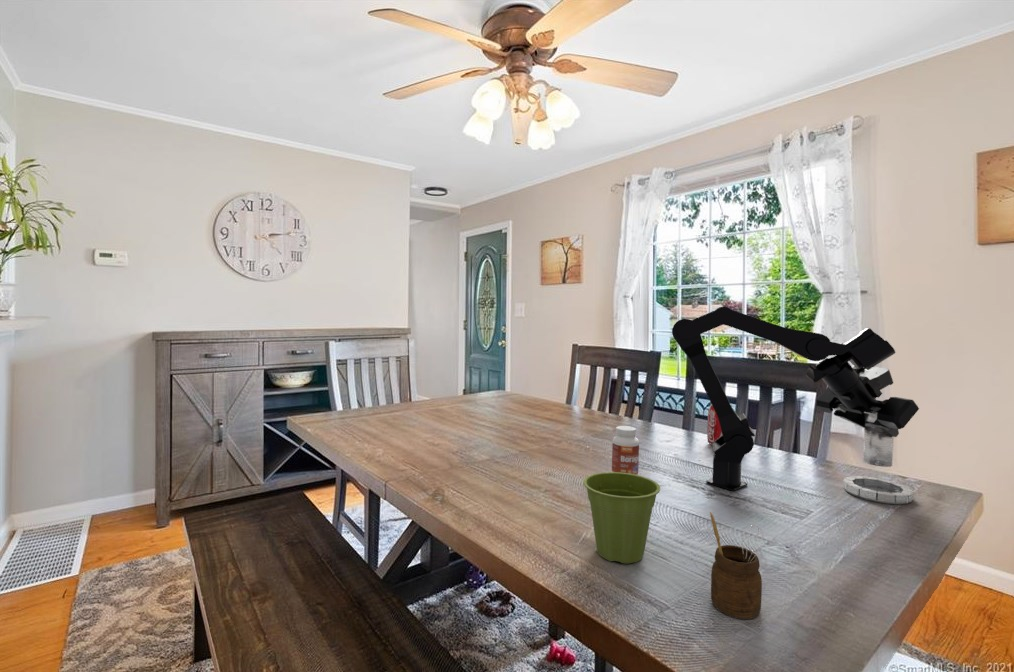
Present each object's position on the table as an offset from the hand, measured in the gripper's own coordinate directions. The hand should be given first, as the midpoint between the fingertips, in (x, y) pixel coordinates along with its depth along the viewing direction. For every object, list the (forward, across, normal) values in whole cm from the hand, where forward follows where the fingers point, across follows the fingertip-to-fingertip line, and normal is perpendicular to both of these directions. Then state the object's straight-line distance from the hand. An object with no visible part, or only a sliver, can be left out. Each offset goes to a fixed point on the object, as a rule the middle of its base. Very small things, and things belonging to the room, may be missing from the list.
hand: (884, 432), depth 102 cm
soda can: (+2, +40, +17) cm, 43 cm away
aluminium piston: (+4, 0, +6) cm, 7 cm away
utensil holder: (-32, -29, +51) cm, 67 cm away
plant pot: (-38, -13, +57) cm, 70 cm away
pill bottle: (-25, +22, +44) cm, 55 cm away
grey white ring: (+8, 0, +10) cm, 13 cm away
